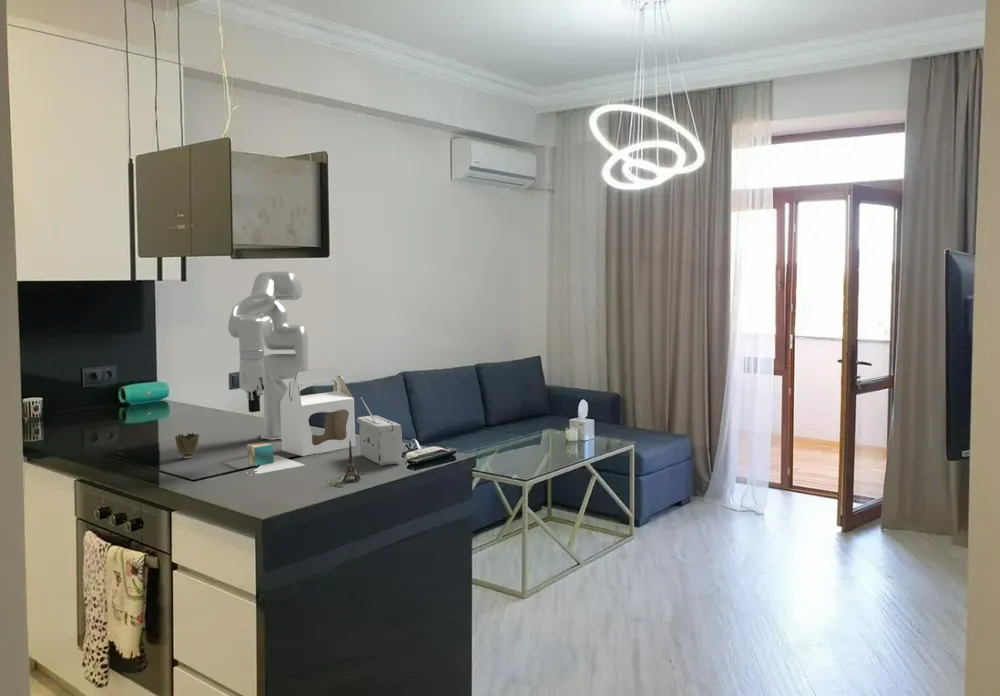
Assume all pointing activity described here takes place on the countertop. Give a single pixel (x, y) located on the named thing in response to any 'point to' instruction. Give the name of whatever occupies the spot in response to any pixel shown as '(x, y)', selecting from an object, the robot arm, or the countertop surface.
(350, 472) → the eiffel tower figurine
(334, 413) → the gable box
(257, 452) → the block
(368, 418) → the stereo radio cassette player
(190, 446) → the cup
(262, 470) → the mat
